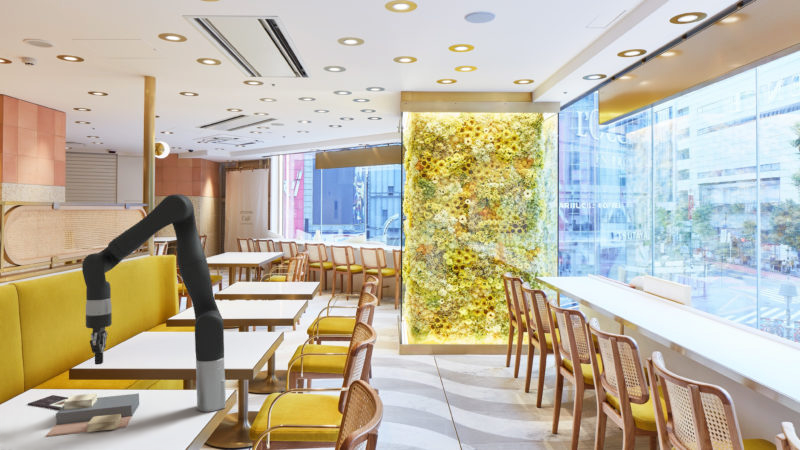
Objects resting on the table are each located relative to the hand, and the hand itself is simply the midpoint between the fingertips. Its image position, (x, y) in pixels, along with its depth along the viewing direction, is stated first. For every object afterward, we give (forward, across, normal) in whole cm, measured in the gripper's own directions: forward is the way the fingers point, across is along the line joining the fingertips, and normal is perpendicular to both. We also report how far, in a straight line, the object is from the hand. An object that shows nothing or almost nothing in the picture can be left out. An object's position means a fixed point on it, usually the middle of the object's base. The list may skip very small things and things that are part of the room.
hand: (99, 363), depth 173 cm
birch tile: (+13, +2, +6) cm, 14 cm away
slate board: (+18, +1, 0) cm, 18 cm away
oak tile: (+16, -12, -4) cm, 20 cm away
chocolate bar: (+19, +19, +18) cm, 32 cm away
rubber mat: (+18, -9, 0) cm, 20 cm away
